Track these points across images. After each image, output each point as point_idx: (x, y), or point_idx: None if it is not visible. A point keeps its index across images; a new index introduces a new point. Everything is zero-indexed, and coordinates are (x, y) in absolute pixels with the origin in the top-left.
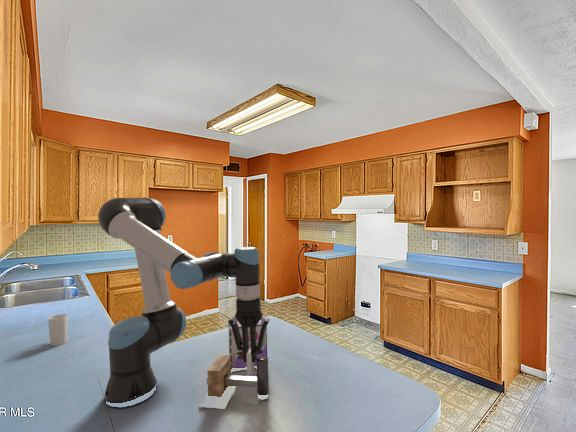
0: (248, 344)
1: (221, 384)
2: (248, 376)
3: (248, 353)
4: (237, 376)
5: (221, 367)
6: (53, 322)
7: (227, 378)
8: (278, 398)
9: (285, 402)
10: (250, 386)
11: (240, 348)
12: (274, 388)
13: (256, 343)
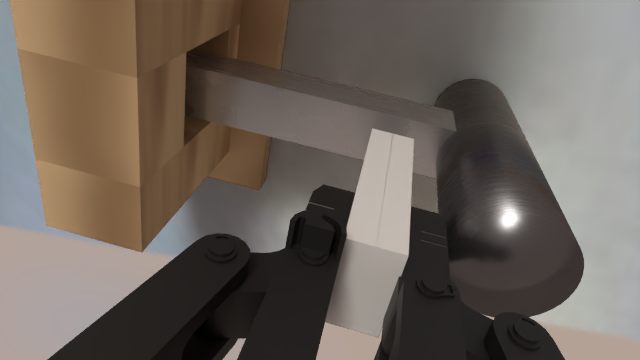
0: (329, 302)
1: (194, 176)
2: (368, 110)
3: (347, 328)
4: (281, 100)
5: (132, 205)
6: None
7: (213, 116)
8: (567, 130)
9: (601, 172)
10: None
11: (232, 338)
12: (567, 14)
13: (464, 352)
